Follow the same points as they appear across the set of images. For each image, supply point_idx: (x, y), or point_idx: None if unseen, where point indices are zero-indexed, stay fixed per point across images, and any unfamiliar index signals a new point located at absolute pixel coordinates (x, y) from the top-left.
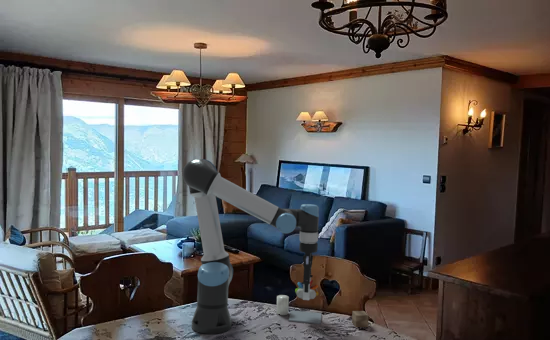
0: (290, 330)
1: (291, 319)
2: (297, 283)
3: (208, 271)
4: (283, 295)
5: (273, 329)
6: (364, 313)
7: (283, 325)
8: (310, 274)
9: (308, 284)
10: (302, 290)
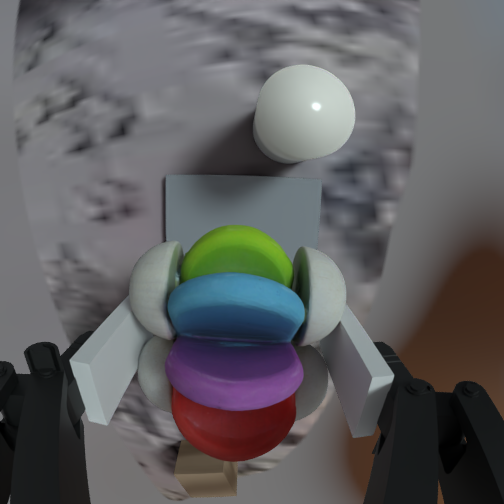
0: (64, 199)
1: (174, 190)
2: (225, 274)
3: None
4: (346, 115)
5: (61, 122)
6: (207, 493)
7: (109, 157)
8: (373, 464)
9: (86, 408)
10: (139, 315)
